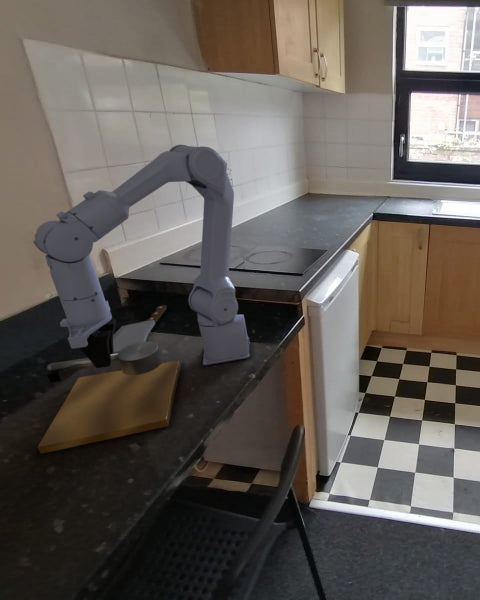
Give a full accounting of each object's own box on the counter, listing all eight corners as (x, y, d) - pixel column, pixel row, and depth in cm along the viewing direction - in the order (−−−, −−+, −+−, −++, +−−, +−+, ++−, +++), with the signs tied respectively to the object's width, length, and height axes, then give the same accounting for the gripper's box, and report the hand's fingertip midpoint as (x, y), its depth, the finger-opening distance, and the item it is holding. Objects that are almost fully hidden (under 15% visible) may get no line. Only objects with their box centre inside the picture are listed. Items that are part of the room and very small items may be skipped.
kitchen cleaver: (136, 308, 111) (174, 303, 113) (137, 311, 112) (175, 306, 113) (92, 354, 89) (141, 348, 91) (94, 358, 90) (142, 352, 91)
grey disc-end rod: (164, 353, 78) (160, 339, 77) (159, 371, 73) (154, 356, 72) (58, 370, 73) (52, 355, 71) (44, 391, 67) (37, 375, 66)
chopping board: (180, 366, 86) (179, 360, 86) (168, 426, 69) (166, 419, 69) (81, 383, 80) (78, 377, 80) (40, 454, 63) (37, 446, 63)
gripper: (67, 282, 72) (90, 347, 77) (32, 315, 59) (63, 391, 65) (113, 277, 74) (133, 341, 79) (89, 308, 61) (114, 382, 67)
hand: (105, 363), depth 72 cm, fingers closed on grey disc-end rod
